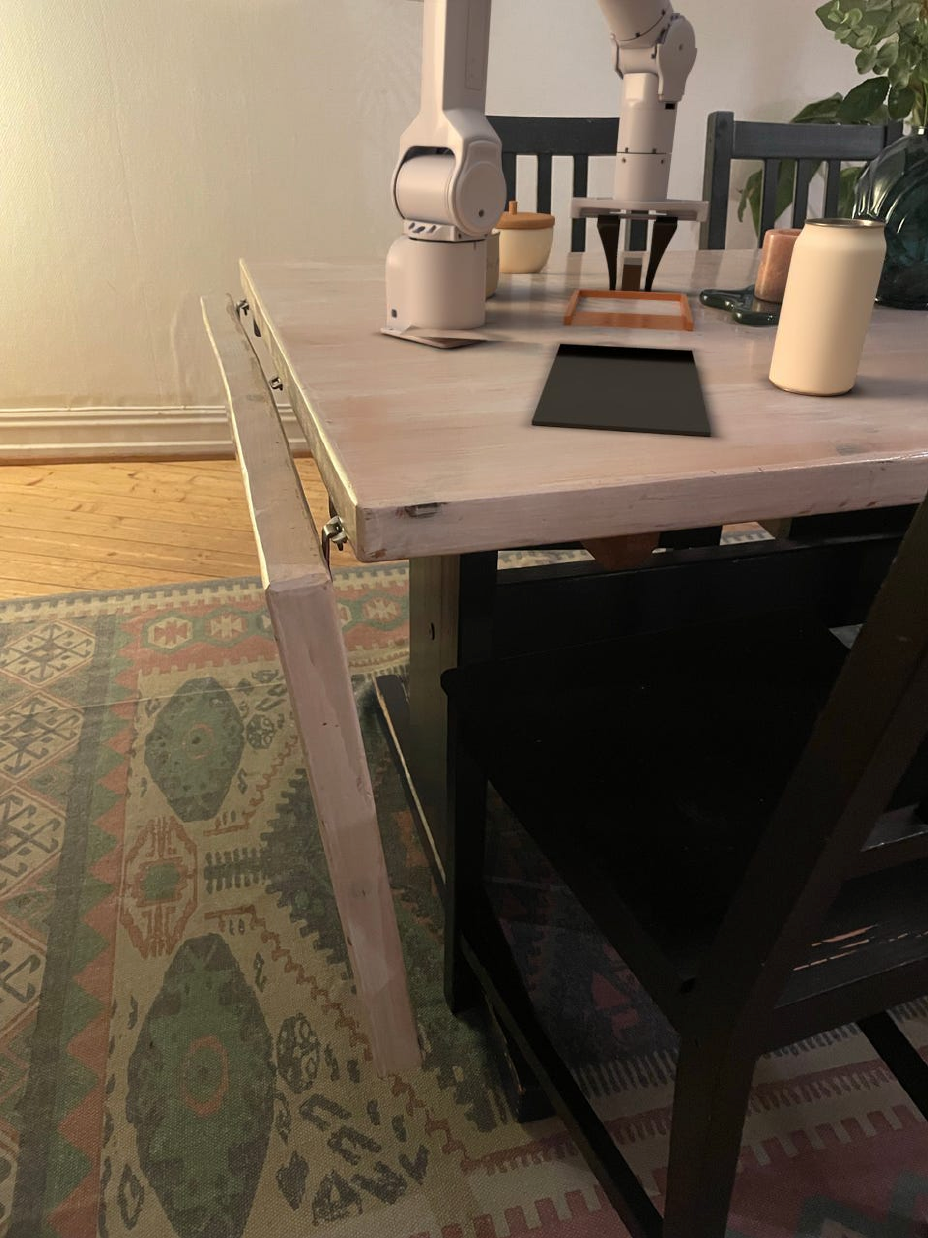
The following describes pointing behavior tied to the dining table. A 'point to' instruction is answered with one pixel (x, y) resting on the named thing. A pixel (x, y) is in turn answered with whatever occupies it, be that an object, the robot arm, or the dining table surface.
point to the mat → (623, 391)
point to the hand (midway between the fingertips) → (630, 290)
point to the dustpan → (630, 291)
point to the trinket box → (524, 240)
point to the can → (827, 305)
